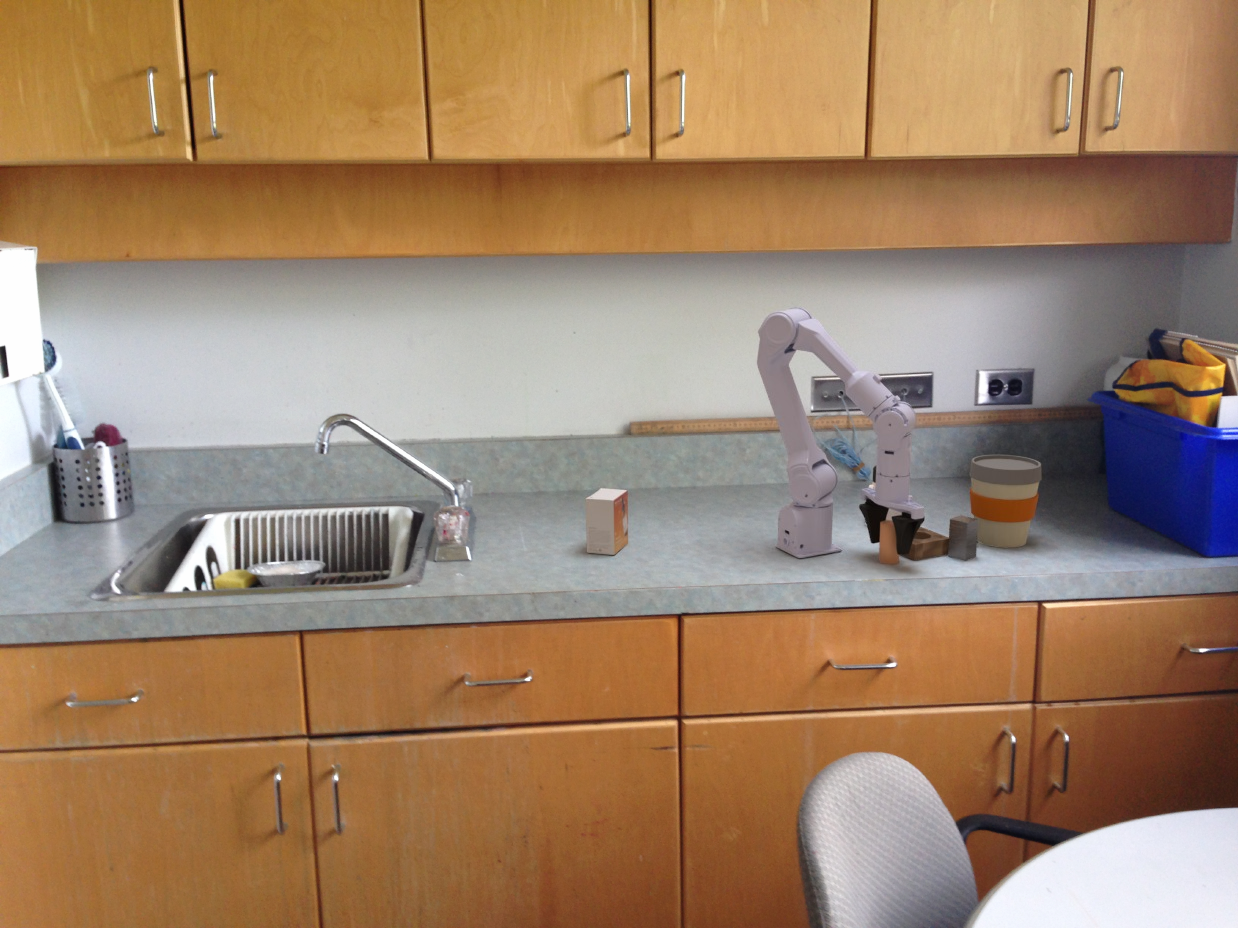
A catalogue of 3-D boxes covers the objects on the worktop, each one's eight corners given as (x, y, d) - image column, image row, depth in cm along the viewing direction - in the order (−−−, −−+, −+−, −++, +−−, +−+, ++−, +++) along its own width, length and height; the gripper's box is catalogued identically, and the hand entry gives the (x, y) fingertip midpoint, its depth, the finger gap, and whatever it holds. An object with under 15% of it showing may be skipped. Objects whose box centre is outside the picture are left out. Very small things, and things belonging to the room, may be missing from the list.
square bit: (965, 561, 182) (967, 523, 181) (947, 556, 185) (949, 518, 183) (976, 556, 184) (978, 519, 183) (958, 552, 187) (961, 515, 185)
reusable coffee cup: (996, 554, 186) (1002, 473, 182) (950, 535, 197) (955, 458, 193) (1051, 545, 190) (1058, 465, 186) (1003, 526, 201) (1008, 451, 198)
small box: (614, 556, 188) (613, 500, 186) (586, 553, 190) (584, 498, 188) (629, 543, 196) (628, 489, 193) (601, 540, 197) (600, 487, 195)
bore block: (914, 560, 183) (915, 544, 182) (885, 548, 190) (885, 532, 189) (949, 554, 186) (950, 538, 185) (919, 541, 193) (920, 526, 192)
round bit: (887, 565, 181) (889, 527, 179) (874, 559, 184) (876, 522, 182) (903, 562, 182) (905, 524, 180) (890, 556, 185) (892, 519, 183)
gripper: (940, 479, 174) (935, 556, 178) (884, 462, 187) (881, 533, 190) (906, 484, 171) (903, 562, 175) (852, 466, 184) (850, 539, 187)
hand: (889, 548), depth 182 cm, fingers open, 7 cm apart
